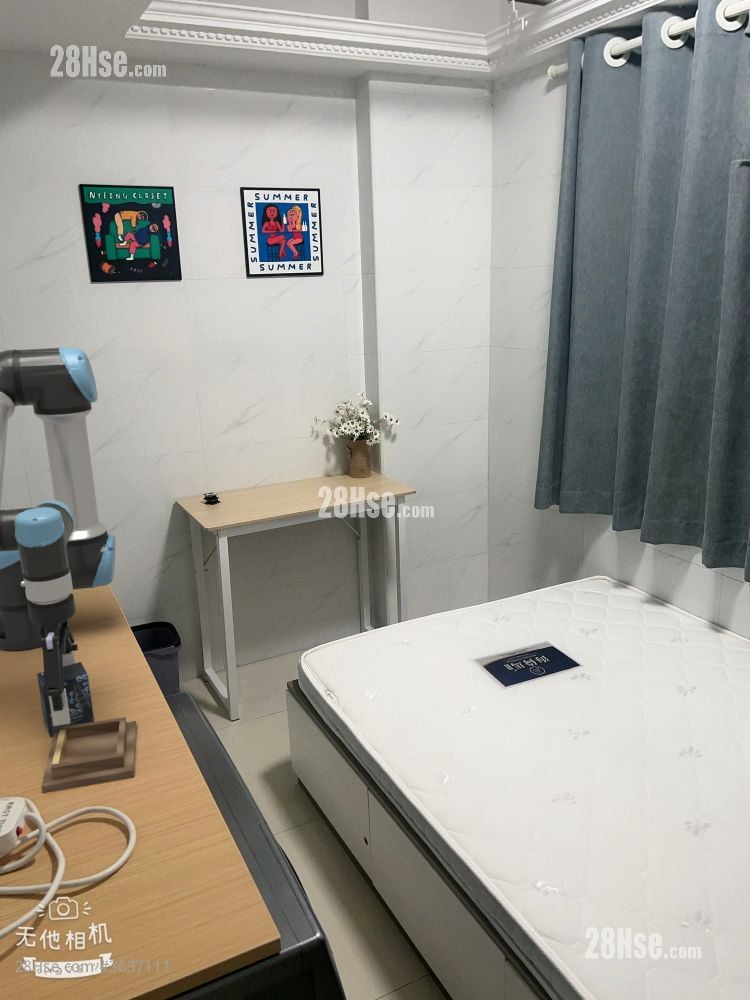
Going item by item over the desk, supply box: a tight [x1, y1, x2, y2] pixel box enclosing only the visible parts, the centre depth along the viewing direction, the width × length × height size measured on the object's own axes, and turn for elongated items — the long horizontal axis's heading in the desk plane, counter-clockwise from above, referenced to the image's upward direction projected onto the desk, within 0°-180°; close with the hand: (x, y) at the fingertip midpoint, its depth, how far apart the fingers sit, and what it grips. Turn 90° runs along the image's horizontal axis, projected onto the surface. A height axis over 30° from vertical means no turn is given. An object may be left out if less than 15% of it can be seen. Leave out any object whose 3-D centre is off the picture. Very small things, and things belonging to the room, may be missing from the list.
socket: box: [41, 716, 138, 794], centre depth 128 cm, size 15×14×3 cm
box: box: [36, 661, 95, 738], centre depth 137 cm, size 8×6×11 cm
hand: (66, 703), depth 137 cm, fingers open, 13 cm apart
